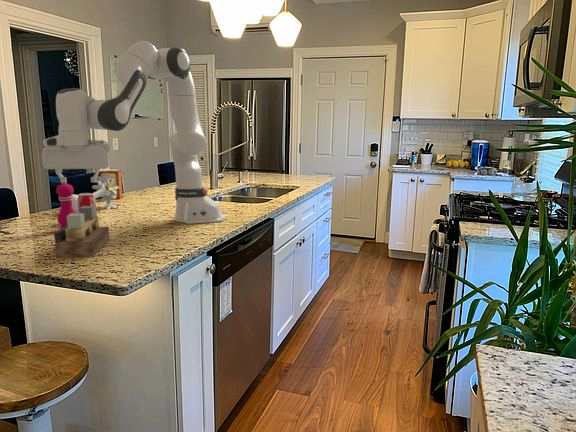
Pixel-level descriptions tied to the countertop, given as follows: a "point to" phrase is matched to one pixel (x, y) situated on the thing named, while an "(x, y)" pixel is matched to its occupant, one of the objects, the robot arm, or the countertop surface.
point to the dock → (81, 243)
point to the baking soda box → (118, 181)
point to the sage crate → (76, 220)
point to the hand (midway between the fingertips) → (79, 182)
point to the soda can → (86, 200)
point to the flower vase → (100, 192)
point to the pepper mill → (65, 203)
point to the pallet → (82, 230)
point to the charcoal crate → (88, 212)
